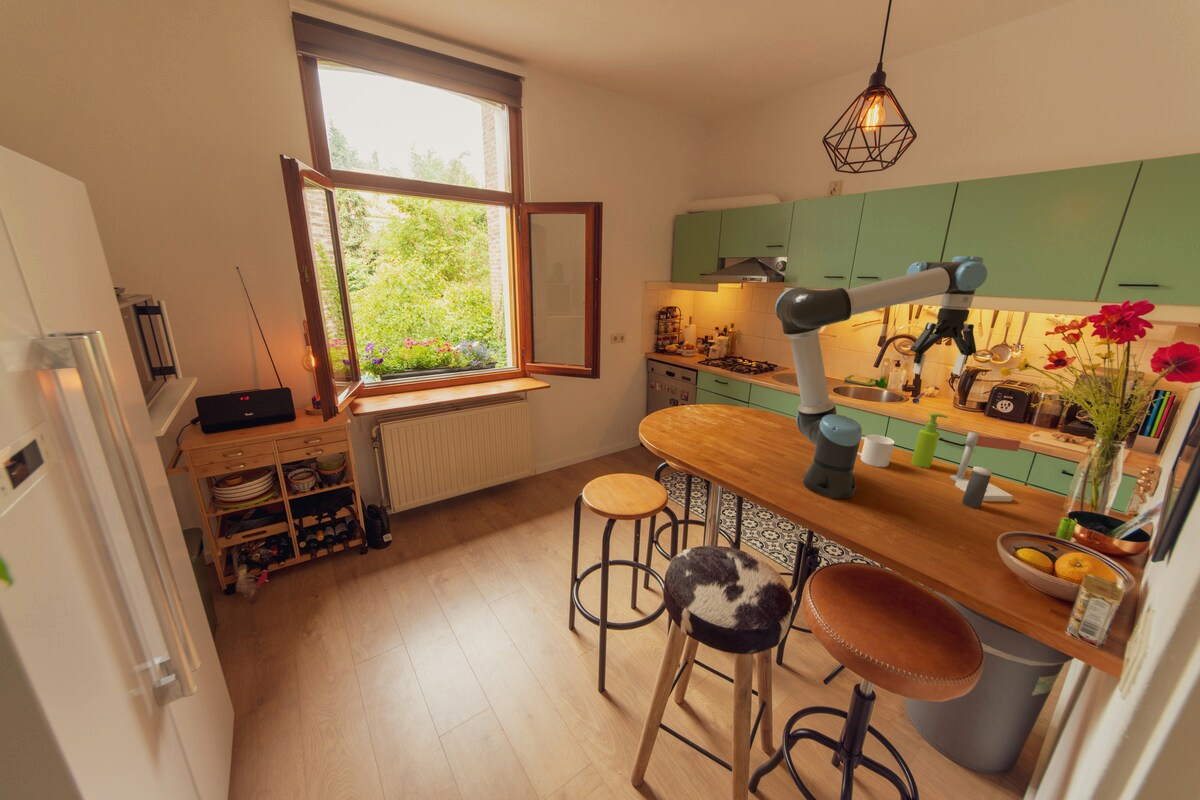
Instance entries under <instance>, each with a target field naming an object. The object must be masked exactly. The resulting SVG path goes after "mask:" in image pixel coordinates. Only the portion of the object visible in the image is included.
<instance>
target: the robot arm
mask: <svg viewBox="0 0 1200 800" xmlns="http://www.w3.org/2000/svg"><path fill="white" fill-rule="evenodd" d="M987 277H988V269H987V266H986V265H985V264H984V258H983V257H981V256H978V255H977V256H976V255H975V256H974V255H973V256H971V255H969V256H968V255H967V256H966V255H965V256H964V255H962V256H961V255H959V256H956V255H955V256H954V257H953V258H952V260H951V261H917V262H916V261H915V262H913V263H912V264H910V266H909V267H908V269H907V271H906V273H905V275H901V276H897V277H894V278H890V279H885V280H880V281H878V282H877V281H876V282H873V283H870V284H866V285H861V286H857V287H852V288H849V289H846V288H845V287H838V288H834V289H811V288H806V287H802V286H801V287H793V288H788V289H787V290H785V291H784V292H783V293H782V292H781V294H780V296H778V298H777V300H776V302H775V307H774V311H775V314H776V317H777V318H778V319H779V320H780V321H781V326H782V331H783V335H785V336H787V338H789V341H790V346H791V347H790V348H791V352H792V353H791V354H792V358H793V364H794V368H795V374H796V380H797V385H798V391H799V395H800V396H799V397H800V401H801V402H800V403H799V405H798V406H797V411H798V412H797V415H796V420H795V421H796V425H797V429H798V430H799V432H800V433H801V434H802V435H803V436H804V437H805V438H806V439H807V440H809V442H811V444H813V445H814V446H815V449H814V455H813V458H812V459H813V460H812V463H811V464H810V465H809V467H808V469H807V471H806V472H805V473H804V476H803V480H802V483H803V485H804V486H805V487H806V489H808V490H809V491H811V492H813V493H815V494H817V495H820V496H823V497H826V498H830V499H840V500H842V499H843V500H844V499H849V498H852V497H853V496H855V493H856V488H857V487H856V480H855V475H854V474H855V473H854V469H855V465H856V459H857V457H858V454H857V452H859V447H860V443H861V441H862V439H861V437H862V432H863V429H862V426H861V424H860V423H859V422H858V421H857V420H855V419H853V418H851V417H847V416H846V415H843V414H842V415H841V414H837V407H836V403H835V402H834V401H833V400H831V399H830V396H829V391H828V384H827V383H828V382H827V378H826V372H825V365H824V361H823V354H822V348H821V342H820V336H819V332H820V330H821V329H822V328H823V327H826V326H829V325H833V324H838V323H841V322H845V321H849V320H850V319H851V318H852V316H855V315H859V314H860V315H861V314H863V313H867V312H873V311H875V310H880V309H884V308H889V307H894V306H896V305H897V306H898V305H901V304H905V303H908V302H909V303H910V302H913V301H918V300H922V299H926V298H930V297H935V296H939V295H942V297H941V301H940V308H939V309H938V312H937V313H938V314H937V317H936V319H937V323H933V322H927V323H926V324H925V327H924V329H923V331H922V332H921V333H920V335H919V336H918V338H917V339H916V340H915V341H914V343H913V344H912V346H911V347H910V349H909V351H912V352H914V353H915V355H914V359H913V364H914V365H913V369H912V373H913V374H916V375H922V372H923V368H924V363H925V360H926V357H927V354H926V352H927V351H928V350H930V348H932V346H934V345H935V344H936V343H937V342H938V341H939V340H941V339H948V338H949V339H953V341H954V343H955V345H956V346H957V349H958V351H959V352H960V353H957V354H956V359H955V361H954V365H953V369H952V371H951V372H952V374H954V375H958V376H962V374H963V370H964V367H965V365H966V364H967V362H968V360H969V359H968V358H969V357H970V356H973V354H976V353H977V347H976V342H975V341H976V340H975V336H974V327H975V326H974V324H973V323H965V322H967V321H968V318H969V315H970V310H969V308H971V307H972V303H973V300H974V296H975V294H976V293H975V292H976V290H977V289H978V288H981V286H983V285H984V284H985V282H986V281H987Z"/></svg>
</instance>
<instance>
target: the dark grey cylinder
mask: <svg viewBox="0 0 1200 800" xmlns="http://www.w3.org/2000/svg"><path fill="white" fill-rule="evenodd" d="M992 475H993V471H992V470H990V469H989V468H986V467H982V466H973V468H972V470H971V474H970V476H969V479H968V480H969V482H968V485H967V488H966V491H965V492H964V495H963V497H962V501H961V503H962V505H964V506H966V507H968V508H972V509H981V507H982V503H983V502H984V501H983V498H984V495H985V492H987V491H986V489H987V486H988V483H990V480H991V477H992Z"/></svg>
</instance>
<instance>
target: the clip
mask: <svg viewBox="0 0 1200 800" xmlns="http://www.w3.org/2000/svg"><path fill="white" fill-rule="evenodd" d="M1021 442H1022V441H1021V440H1020V439H1014V438H1007V437H1006V438H1005V437H1000V436H990V435H982V434H980V433H976V432H973V431H969V432H968V433H967V437H966V440H965V442H964V444H965V446H966V445H969V446H974V447H980V448H981V447H982V448H987V449H989V448H990V449H996V450H1003V451H1004V450H1005V451H1013V452H1018V450H1019V448H1020V444H1021Z"/></svg>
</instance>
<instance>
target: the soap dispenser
mask: <svg viewBox="0 0 1200 800" xmlns="http://www.w3.org/2000/svg"><path fill="white" fill-rule="evenodd" d="M928 416H929V417H930V418H929V420H928V421H926V423H925V426H924V428H920V429H919V432H918V436H917V439H916V442H915V446H914V450H913V452H912V453H913V454H912V457H911V461H910V463H911V464H912V465H913V466H916V467H918V468H922V467H923V469H928V468H929V469H930V467H931V466H932V462H933V458H934V455H935V451H936V447H937V446H938V445H937V444H938V441H939V439H940V438H939V437H940V433H939V432H937V429H938V426H939V423H938V422H937V418H945V419H948V418H949V417H948V416H947V415H945V414H941V413H935V412H934V413H933V412H932V413H931V412H930V413H928Z"/></svg>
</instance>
